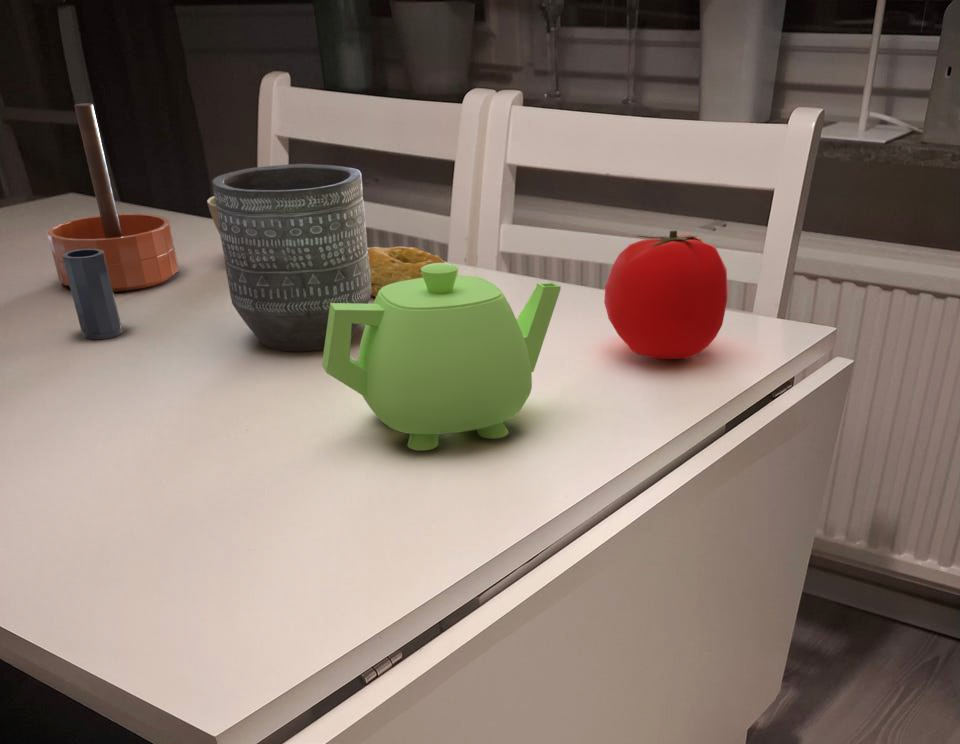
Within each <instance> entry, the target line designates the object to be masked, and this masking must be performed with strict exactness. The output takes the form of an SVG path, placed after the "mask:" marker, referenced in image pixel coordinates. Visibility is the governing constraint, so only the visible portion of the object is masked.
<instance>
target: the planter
mask: <svg viewBox="0 0 960 744" xmlns="http://www.w3.org/2000/svg"><path fill="white" fill-rule="evenodd" d="M211 184H212V189H213V196H215V202H216V205H217V206H216V209H217V216H218V223H219V230H220V234H219V236H220V240H221V241H220V242H221V246H222V252H223V256H224V260H225V261H224V264H225V270H226V279H227V284H228V290H229V295H230V301H231V304H232V306H233V307H234V309H235V311H236V312H237V314H239V315H238V316H240V318H241V319H242V321H243V323H245V325H246V326H247V327H248V328H249V330H250V331H251V332H252V333H253V335H254V336H255V337H256V338H257V339H258V340H259V341H260V343H261V344H262V346H265V347H267V348H269V349H272V350H276V351H283V352H294V353H295V352H299V353H300V352H314V351H321V350H324V346H325V339H326V331H327V324H328V316H329V309H330V303H357V304H369V302H370V299H371V297H372V295H371V275H370V265H369V257H368V251H367V249H369V248H368V237H367V236H368V235H367V225H366V224H367V223H366V222H367V221H366V212H365V202H364V201H365V200H364V197H363V195H364V193H363V191H364V190H363V177H362V173H361V171H360V170H359V169H357V168H353V167H347V166H341V165H333V164H314V163H290V164H277V165H267V166H256V167H249V168H244V169H238V170H234V171H231V172H227V173H224V174H223V173H222V174H220V175H218V176H216V177H214V178H213V179H212V182H211ZM359 325H360V324H354V323H352V325H351V339H352V338H353V337H354V334H355V332H357V329H358V327H359Z"/></svg>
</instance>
